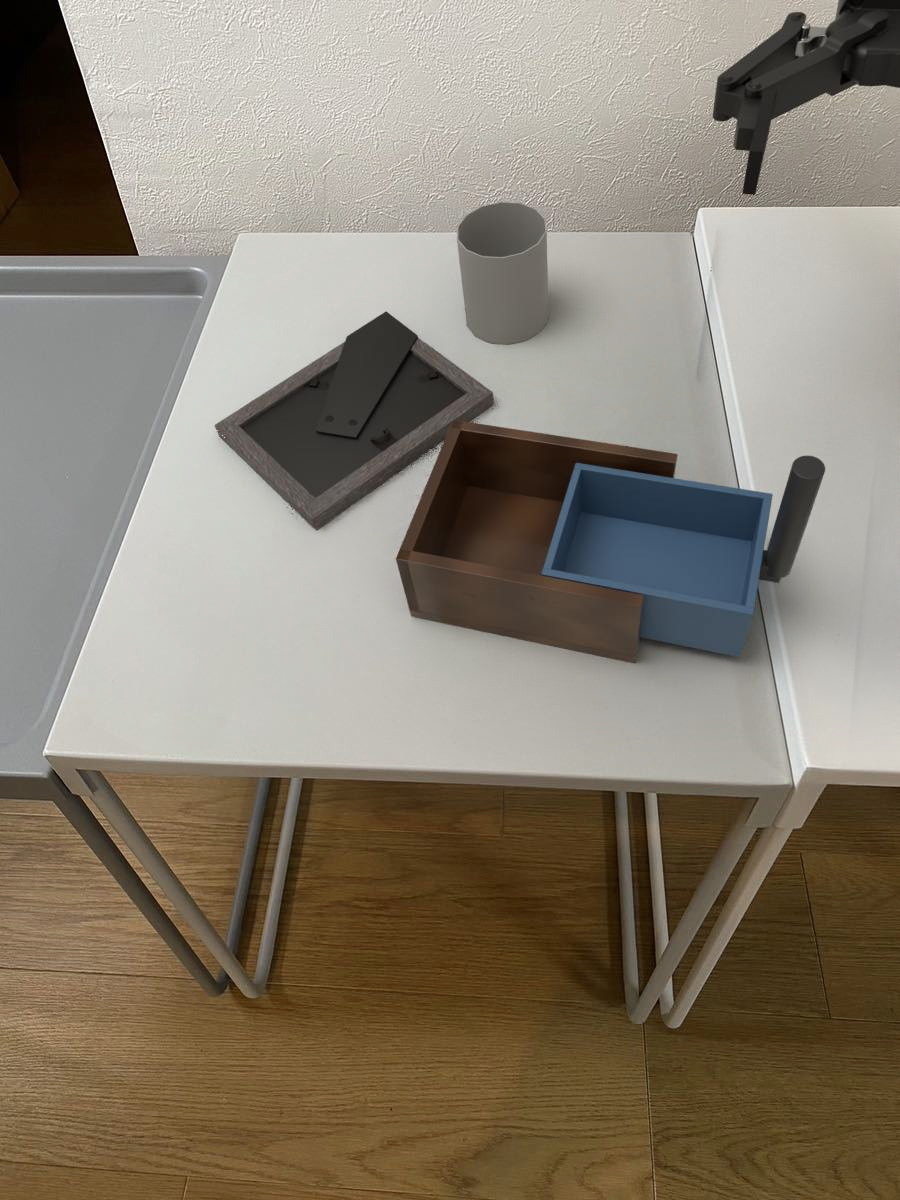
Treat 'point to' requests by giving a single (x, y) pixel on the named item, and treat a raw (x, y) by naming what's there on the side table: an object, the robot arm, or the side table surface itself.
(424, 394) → the picture frame
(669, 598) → the blue drawer insert
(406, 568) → the walnut drawer box
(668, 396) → the side table surface
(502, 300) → the cup
